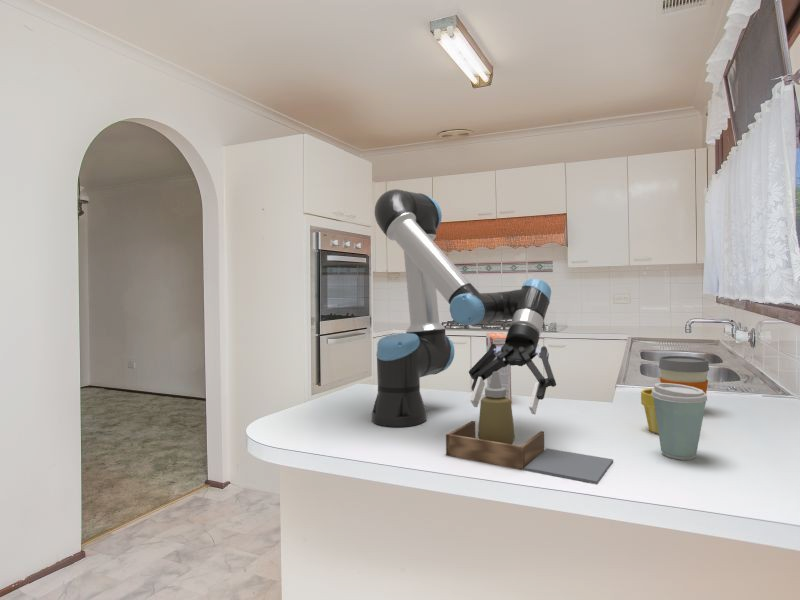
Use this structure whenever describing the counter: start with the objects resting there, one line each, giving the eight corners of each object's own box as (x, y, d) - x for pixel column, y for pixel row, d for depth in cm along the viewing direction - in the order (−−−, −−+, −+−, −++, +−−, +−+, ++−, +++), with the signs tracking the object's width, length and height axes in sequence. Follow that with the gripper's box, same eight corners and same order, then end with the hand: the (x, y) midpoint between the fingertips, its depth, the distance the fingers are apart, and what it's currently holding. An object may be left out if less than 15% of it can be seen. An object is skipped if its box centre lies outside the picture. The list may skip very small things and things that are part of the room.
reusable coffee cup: (688, 419, 139) (688, 363, 139) (648, 409, 151) (648, 357, 150) (719, 413, 144) (719, 360, 144) (678, 404, 156) (678, 354, 155)
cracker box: (486, 395, 173) (485, 332, 172) (504, 395, 173) (503, 332, 172) (492, 405, 159) (491, 337, 158) (512, 405, 159) (511, 336, 158)
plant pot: (683, 427, 132) (683, 389, 132) (692, 439, 122) (692, 397, 122) (639, 424, 135) (638, 387, 135) (643, 435, 126) (643, 395, 125)
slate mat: (524, 470, 104) (524, 467, 104) (546, 450, 116) (546, 448, 116) (596, 484, 96) (596, 481, 96) (613, 461, 108) (613, 459, 108)
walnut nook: (446, 454, 114) (445, 434, 114) (472, 439, 125) (472, 420, 125) (523, 469, 104) (523, 447, 104) (544, 451, 115) (544, 431, 115)
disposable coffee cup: (695, 448, 116) (695, 381, 115) (716, 465, 105) (717, 391, 104) (644, 446, 117) (644, 380, 117) (660, 463, 107) (660, 390, 106)
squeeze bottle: (515, 459, 110) (514, 375, 110) (477, 457, 112) (475, 374, 111) (514, 447, 118) (513, 369, 118) (478, 446, 120) (477, 368, 119)
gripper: (579, 344, 122) (562, 423, 110) (481, 340, 136) (456, 409, 124) (573, 323, 117) (554, 403, 105) (472, 321, 131) (445, 392, 119)
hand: (501, 407), depth 114 cm, fingers open, 13 cm apart
